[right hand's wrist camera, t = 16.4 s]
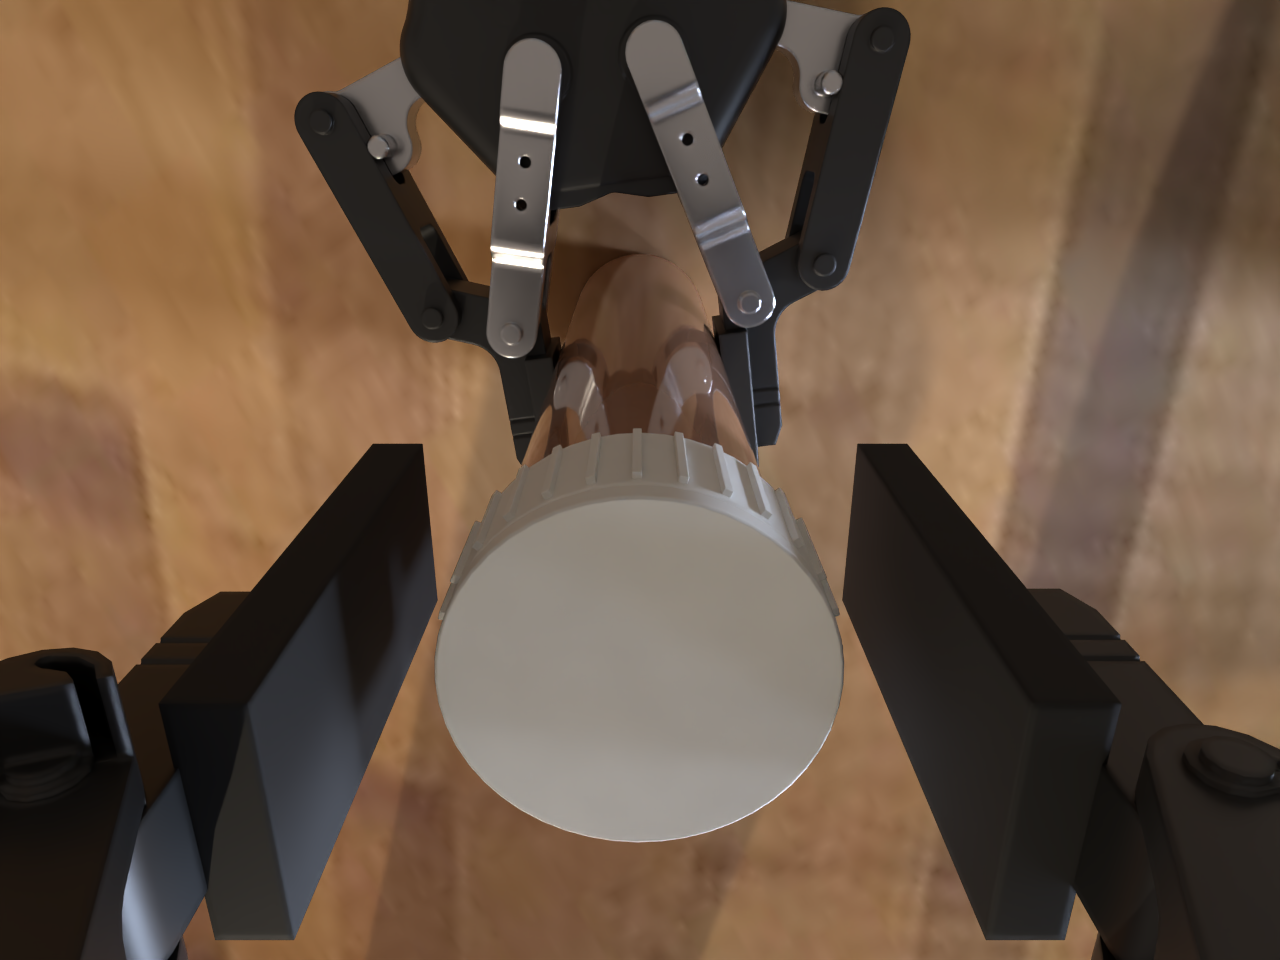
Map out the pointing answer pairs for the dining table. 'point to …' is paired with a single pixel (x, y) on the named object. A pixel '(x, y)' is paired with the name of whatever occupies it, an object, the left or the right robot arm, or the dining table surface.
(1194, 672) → the dining table surface
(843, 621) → the dining table surface
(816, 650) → the lid
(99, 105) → the dining table surface
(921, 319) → the dining table surface
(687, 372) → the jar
